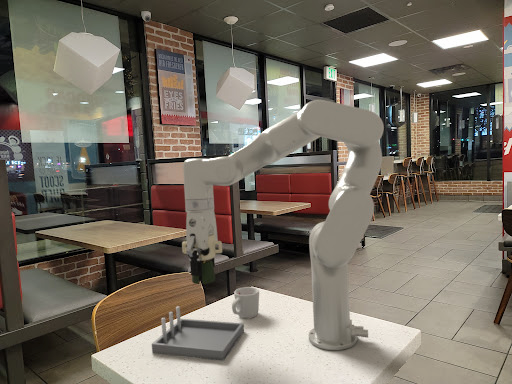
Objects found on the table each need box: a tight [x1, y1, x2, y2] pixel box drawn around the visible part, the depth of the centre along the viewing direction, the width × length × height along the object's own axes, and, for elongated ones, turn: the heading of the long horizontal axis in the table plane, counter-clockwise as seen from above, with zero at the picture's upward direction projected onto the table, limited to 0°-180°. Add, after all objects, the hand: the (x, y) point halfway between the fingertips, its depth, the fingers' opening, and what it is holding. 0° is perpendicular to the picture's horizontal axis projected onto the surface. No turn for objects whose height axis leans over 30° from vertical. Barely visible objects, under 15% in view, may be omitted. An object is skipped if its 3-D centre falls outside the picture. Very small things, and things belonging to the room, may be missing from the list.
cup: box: [231, 286, 260, 319], centre depth 117 cm, size 11×8×8 cm
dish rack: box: [151, 305, 245, 362], centre depth 101 cm, size 20×16×8 cm
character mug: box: [181, 234, 223, 285], centre depth 99 cm, size 11×7×13 cm, turn 84°
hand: (203, 270), depth 99 cm, fingers closed on character mug, 7 cm apart
